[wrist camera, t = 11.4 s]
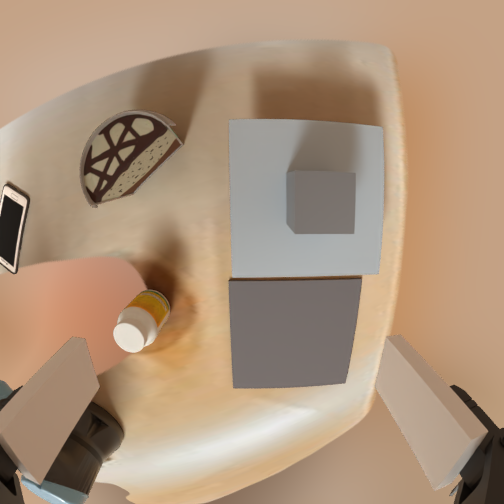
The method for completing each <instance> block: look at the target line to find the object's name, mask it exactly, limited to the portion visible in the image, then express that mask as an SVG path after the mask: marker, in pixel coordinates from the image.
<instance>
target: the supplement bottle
mask: <svg viewBox="0 0 504 504" xmlns="http://www.w3.org/2000/svg"><path fill="white" fill-rule="evenodd" d="M169 315H170V305H169V303H168V301H167V299H166V298H165V296H164V295H163V294H161V293H160V292H158V291H155V290H145V291H143V292H141V293H140V294H139V295H138V296H137V297H136V298H135V299H134V300H133V301H132V302H131V303H130V304H129V305H128V306H127V307H126V308H125V309H124V310H123V311H122V312H121V313H120V315H119V317H118V322H117V325H116V327H115V329H114V332H113V335H114V339H115V341H116V343H117V344H118V345H119V346H120V347H121V348H122V349H124V350H125V351H128V352H133V353H134V352H138V351H140V350H141V349H142V348H143V347H144V346H147V345H149V344H151V343H152V342H153V341H154V340H155V339H156V337H157V335H158V334H159V332H160V330H161V329H162V327H163V325H164V324H165V322H166V321H167V319H168V317H169Z"/></svg>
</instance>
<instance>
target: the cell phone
mask: <svg viewBox="0 0 504 504" xmlns="http://www.w3.org/2000/svg"><path fill="white" fill-rule="evenodd" d="M29 203H30V199H29V197H28V196H27V195H25V194H23V193H22V192H19V191H17V190H16V188H14V187H13V186H11V185H9V184H5V185H4V187H3V191H2V195H1V200H0V264H1V265H2V266H4V267H5V268H6V269H7V270H8V271H10V272H11V273H13V274H16V273H17V272H18V264H19V263H18V261H19V254H20V250H21V244H22V238H23V232H24V227H25V222H26V217H27V212H28V208H29Z"/></svg>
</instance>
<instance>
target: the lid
mask: <svg viewBox="0 0 504 504" xmlns="http://www.w3.org/2000/svg"><path fill="white" fill-rule="evenodd" d="M229 170H230V219H231V255H232V278H247V277H305V276H341V275H369V274H379V268H380V257H381V245H382V231H383V211H384V142H383V127H379V126H371V125H363V124H354V123H343V122H331V121H317V120H296V119H232V120H229Z"/></svg>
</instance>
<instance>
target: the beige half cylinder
mask: <svg viewBox="0 0 504 504" xmlns="http://www.w3.org/2000/svg"><path fill="white" fill-rule="evenodd" d="M170 125H172V126H176V124H175V123H174V122H173V121H172V120H171V119H169V118H167V117H166V116H164V115H162V114H160V113H157V112H153V111H148V110H129V111H125V112H122V113H119V114H116V115H114V116H113V117H111V118H109V119H107V120H106V121H105V122H103V123H102V124H101V125H100V126H99V127H98V128H97V129H96V130H95V131H94V132H93V134H92V135H91V136H90V138H89V140H88V142H87V143H86V146H85V148H84V150H83V154H82V157H81V162H80V181H81V187H82V190H83V193H84V195H85V198H86V200H87V201H88V203H89V205H90V206H92V207H93V208H98V206H97V205H98V204H102V203H105V202H108V201H112V200H116V199H119V198H123V197H126V196H130V195H133V194H134V193H135V192H136V191H137V190H138V189H139V188H140V187H141V186H142V185H143V184H144V183H145V182H146V181H147V180H148V179H149V178H150V177H151V176H152V175H153V174H154V173H155V172H156V171H157V170H158V169H159V168H160V167H161V166H162V165H163V164H164V163H165V162H166V161H167V160H168V159H169V158H170V157H171V156H172V155H173V154H174V153H175V152H176V151H177V150H179V149H180V148H181V147H182V146H183V145H184V144H183V143H182V142H181V141H180V139H179V138H178V137H177V136H176V134H175V133H174V132H173V130H172V129H171V128H170V127H169V126H170Z"/></svg>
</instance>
